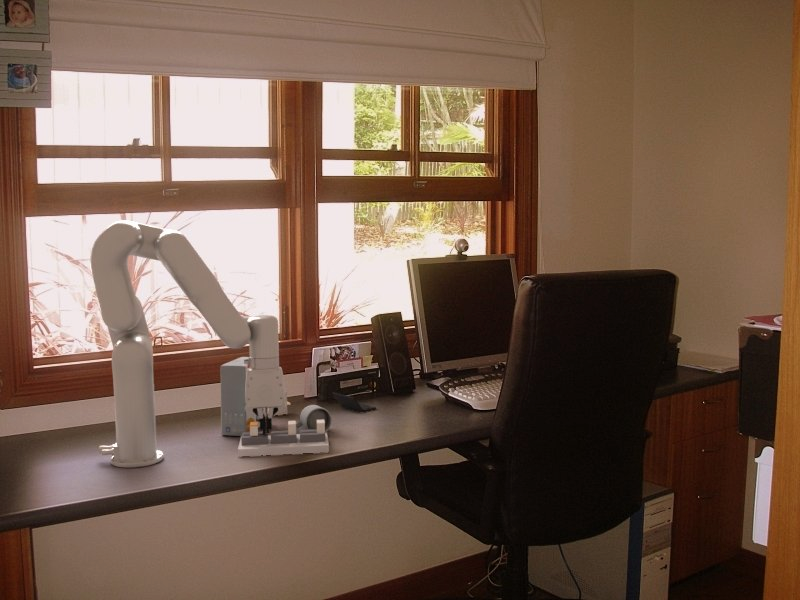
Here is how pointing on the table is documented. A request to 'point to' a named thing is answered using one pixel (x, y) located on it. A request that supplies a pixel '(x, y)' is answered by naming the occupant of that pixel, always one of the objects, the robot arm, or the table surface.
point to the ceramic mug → (313, 418)
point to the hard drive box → (235, 399)
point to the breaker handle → (254, 429)
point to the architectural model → (285, 409)
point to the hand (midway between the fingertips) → (266, 432)
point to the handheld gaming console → (352, 403)
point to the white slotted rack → (285, 441)
